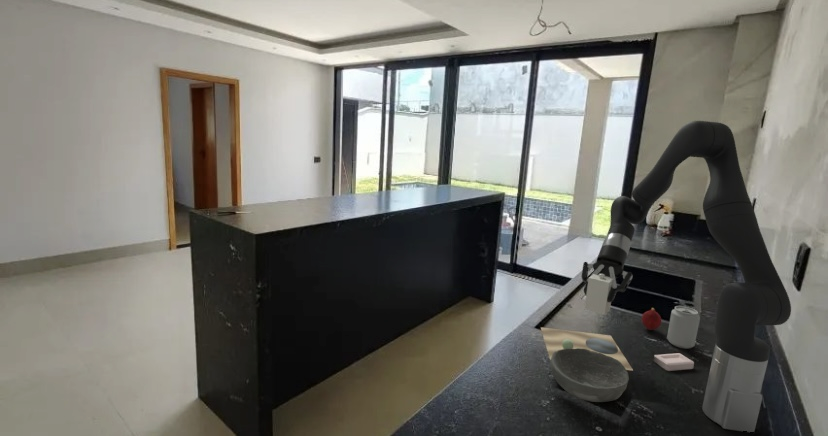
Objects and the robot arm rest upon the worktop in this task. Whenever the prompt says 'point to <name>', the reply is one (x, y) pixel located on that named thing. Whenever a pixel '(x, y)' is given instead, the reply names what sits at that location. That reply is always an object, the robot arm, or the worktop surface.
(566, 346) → the ball
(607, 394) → the bowl
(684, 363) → the soap bar
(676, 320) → the can
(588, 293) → the small milk carton
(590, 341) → the board
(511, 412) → the worktop surface
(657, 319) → the onion
